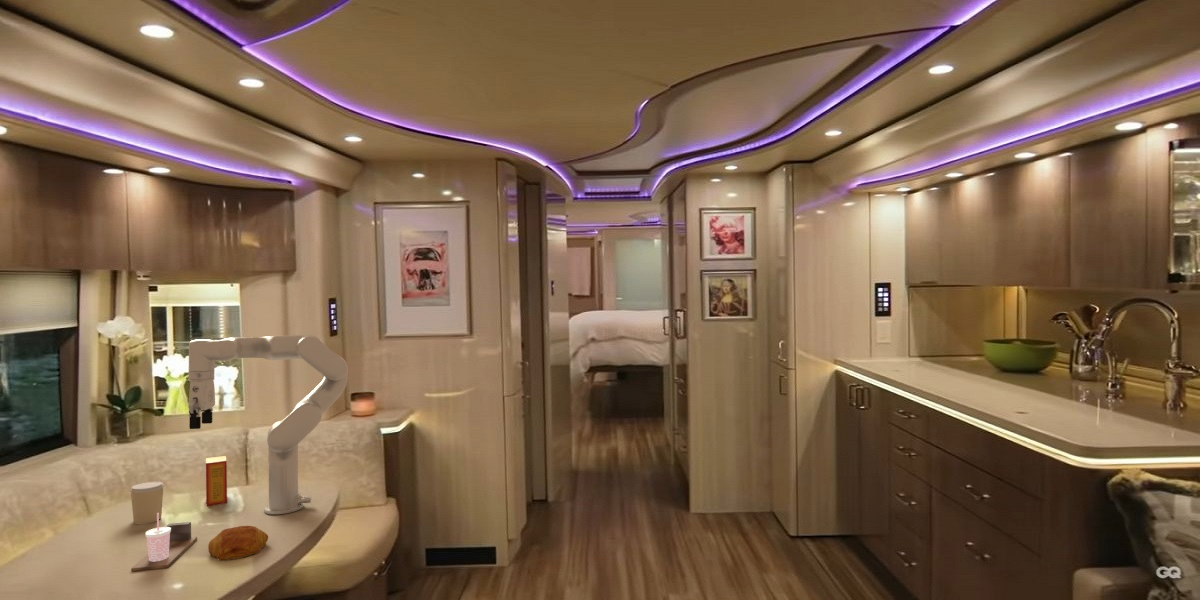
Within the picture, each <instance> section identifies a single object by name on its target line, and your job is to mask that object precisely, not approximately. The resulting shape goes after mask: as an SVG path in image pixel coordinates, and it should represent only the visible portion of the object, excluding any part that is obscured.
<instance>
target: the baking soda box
mask: <svg viewBox="0 0 1200 600" xmlns="http://www.w3.org/2000/svg"><path fill="white" fill-rule="evenodd" d="M227 463H228V462H227V456H226V455H221V456H212V457H210V456H209V457H205V490H206V491H205V496H206V500H205V501H206V504H205V505H206V507H209V506H216V505H223V504H227V503H228V485H227V484H228V472H227V470H228V468H227V467H228V466H227Z"/></svg>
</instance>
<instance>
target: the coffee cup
mask: <svg viewBox="0 0 1200 600" xmlns="http://www.w3.org/2000/svg"><path fill="white" fill-rule="evenodd" d="M164 486H165V485H164V483H163V482H162V481H148V482H142V483H138V484H135V485H133V486H131V488H130V495H131V497H130V498H131V507H132V509H131V510H132V517H133V523H134V524H135V523H137V524H136V525H144V524H143V523H146V524H151V523H153V522H154V521H155V522H157V513H159V519H160V520H161V519H162V512H163V499H164V498H163V496H164ZM150 522H151V523H150ZM155 522H154V523H155Z"/></svg>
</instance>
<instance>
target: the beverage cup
mask: <svg viewBox="0 0 1200 600" xmlns="http://www.w3.org/2000/svg"><path fill="white" fill-rule="evenodd" d="M170 532H171V528H170V527H167V526H160V520H159V513H157V521H156V527H155V528H152V529H148V530H146V531H145V534H144V535H145V537H146V545H147V554H148V555H149V561H152V562H155V561H161V560H164V559H166V558H168V557H169V541H170Z"/></svg>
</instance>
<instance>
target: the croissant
mask: <svg viewBox="0 0 1200 600" xmlns="http://www.w3.org/2000/svg"><path fill="white" fill-rule="evenodd" d="M268 540H269V535H268V534H267V533H266V532H265V531H263V530H262V529H260V528H258V527H257V526H252V525H239V526H235V527H230V528H224V529H222V530H221V531H220V532H219V533H218V534H217V535H216V536H214V537H213V538H211V540H210V541H209V543H208V546H207V547H208V548H207V549H208V553H209V555H210V556H211V557H212V556H213V557H215V558H216V557H217V560H218V559H219V560H218V561H222V560H223V561H224V560H225V561H227V559H230V560H229V561H231V560H235V559H242V558H246V557H248V556H251V555H255V554H258V553H260V551H261V550H262V549H263V548H264V547H265V546H266V544H267V542H268Z"/></svg>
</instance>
